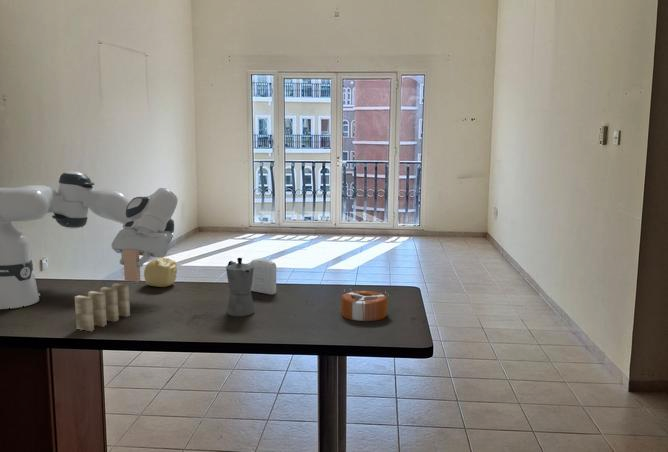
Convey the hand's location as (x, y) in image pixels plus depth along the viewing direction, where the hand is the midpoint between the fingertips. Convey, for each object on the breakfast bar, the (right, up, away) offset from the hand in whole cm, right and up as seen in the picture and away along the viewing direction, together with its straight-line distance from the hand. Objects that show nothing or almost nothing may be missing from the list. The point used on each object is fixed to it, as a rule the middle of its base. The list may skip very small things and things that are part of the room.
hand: (130, 264), depth 184 cm
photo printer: (+40, -12, +25) cm, 48 cm away
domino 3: (-4, -17, -6) cm, 18 cm away
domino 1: (-8, -18, -15) cm, 25 cm away
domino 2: (-6, -17, -11) cm, 21 cm away
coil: (+75, -16, 0) cm, 77 cm away
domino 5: (0, -5, +1) cm, 5 cm away
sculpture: (0, -10, +34) cm, 35 cm away
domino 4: (-2, -16, -2) cm, 16 cm away
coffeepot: (+34, -15, +3) cm, 38 cm away
